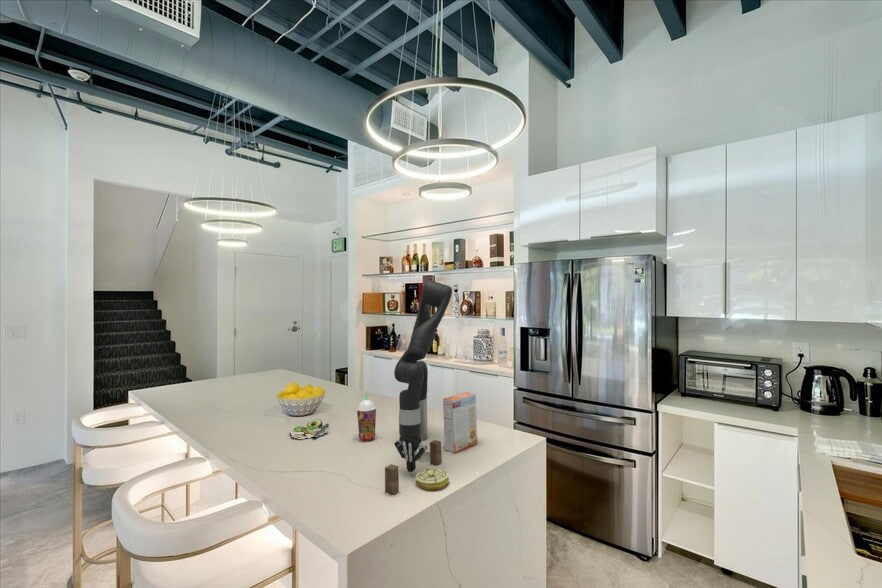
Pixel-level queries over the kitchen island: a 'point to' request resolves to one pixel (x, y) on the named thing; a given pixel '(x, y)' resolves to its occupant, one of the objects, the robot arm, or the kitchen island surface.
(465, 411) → the cracker box
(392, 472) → the posts
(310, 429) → the salad plate
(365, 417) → the smoothie
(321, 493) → the kitchen island surface
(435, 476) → the decorated donut
